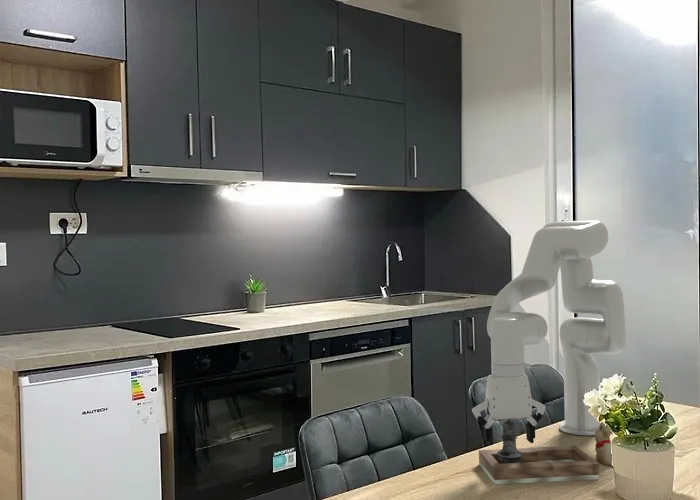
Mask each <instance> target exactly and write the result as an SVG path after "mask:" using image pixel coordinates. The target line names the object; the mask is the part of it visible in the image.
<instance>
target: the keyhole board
mask: <svg viewBox="0 0 700 500" xmlns="http://www.w3.org/2000/svg"><path fill="white" fill-rule="evenodd" d="M516 448H517V450H518V451H520V452H522V456H521V460H520V462H519V463H506V464H503V463H501V462H500V460H499V458H498V455H497V452H498V451H500V450H502V448H499V449H494V448H493V449H479V450H478V464H479V466H480V467H481V469H482V470H483V472H484V473H485V474H486V475H487V477H488V478H489V479H490V480H491V482H492V483H493V484H494V485H510V484H511V485H513V484H528V483H529V484H531V483H532V484H533V483H552V482H570V481H571V482H572V481H590V480H591V481H592V480H600V463H599V462H598V461H597V460H595V459H594V458H592V457H591V456H589V455H588V454H586V453H585V452H584V451H583V450H581V449H580V448H579V447H578V446H576V445H563V446H561V445H560V446H540V447H516Z"/></svg>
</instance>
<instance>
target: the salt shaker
mask: <svg viewBox="0 0 700 500" xmlns="http://www.w3.org/2000/svg"><path fill="white" fill-rule="evenodd" d="M501 438H502V448H501V449H502V450H500V451H498V452H497V455H498V458H499V460H500V462H501V463H503V464H506V463H519V462H520V460H521V456H522V452H520V451H518V450H517V448H518V447H517V443H516V442H517V440H516V439H518V436H517V435H516V425H515V423H514V422H513V421H512V420H511V419H509V420H505V421H504V422H503V424H502V436H501Z"/></svg>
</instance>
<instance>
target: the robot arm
mask: <svg viewBox="0 0 700 500" xmlns="http://www.w3.org/2000/svg"><path fill="white" fill-rule="evenodd" d="M608 240H609V231H608V228H607V227H606V225H605V224H604V223H603V222H602V221H599V220H563V221H562V220H561V221H553V222H549V223H546V224H545V225H544V226H543V227H542V228H540V229H539V230H537V231H536V232H535V234H534V235H533V237H532V241H531V244H530V247H529V249H528V253H527V256H526V258H525V262H524V265H523V268H522V271H521V273H520V274H519V275H518V276H516V277H515V278H514V279H512V280H511V281H509V282H508V283H507V284H506V285H505V286H504V287H503V288H502V289H501V290H500V291H499V292H498V293H497V294H496V296H495V297H494V299H493V303H492V305H491V308H490V310H489V314H488V317H487V320H486V321H487V322H486V329H487V330H486V332H487V335H488V336H489V338H490V352H491V353H490V355H491V356H490V357H491V360H490V361H491V363H490V364H491V374H489V375H488V376H487V379H486V381H487V382H486V386H485V387H486V389H485V390H486V391H485V400H484V401H483V402H481V403H479V404H478V405H476V406H474V407H473V408H471V411H472V413H473V415H474V417H475V418H476V420H477V421H478V422H479V423H480V424H481V425H482V426H483V436H484V437H483V438H484V439H483V440H484V441H485V442H486V443H487V444H488V445H489V446H493V445H494V439H493V438H494V436H493V433H494V432H493V428H492V426H493V424H494V423H495V421H502V420H503V421H504V420H505V421H508V420H509V419H510V420H523V419H526V421H527V422H526V424H525V433H526V435H525V436H526V440H527V441H528V442H529V443H531V444H534V441H535V440H534V439H536V426H537V425H538V422H540V421H541V419H542V418H543V415H544V413H545V412H546V409H547V406H546V405H545V404H543V403H541V402H539V401H537V400H534V399H533V398H532V393H531V387H530V382H529V381H530V380H529V378H528V375H527V373H526V371H529V370H531V364H530V363H526V362H525V346H533V345H537V344H540V343H542V342H543V340H545V338H546V337H547V334H548V330H549V329H548V324H547V321H546V320H545V318H544V316H542V315H540V314H537V313H534V312H522V311H512V309H514V307H515V306H517V305H518V304H520V303H521V302H524V301H525V300H528V299H531V298H533V297H536V296H538V295H541V294H543V293H546V292H548V291H549V290H551V289H552V288H553V287H554V286H555V283H556V280H557V277H558V273H559V270H560V277H561V293H562V294H561V295H562V303H563V306H564V309H565V310H566V311H567V312H570V313H573V314H578V315H579V314H580V315H581V314H582V315H595V316H601V317H602V318H593V317H581V316H580V317H577V316H576V317H569V318H566V319H565V320H564V321H563V322H562V323H561V324H560V327H559V339H560V344H561V349H562V357H563V387H564V388H563V389H564V390H563V392H564V393H563V394H564V396H563V397H564V401H563V402H564V421H561V422H560V423H558V427H559V430H560V431H562V432H564V433H565V434H571V435H574V436H575V435H576V436H595V431H597V430H598V429H599V426H600V424H601V423H599V422H598V421H597V418H594V417H593V416H592V415H591V414H590V413H589V412H588V408H587V407H586V406H585V405H584V403H583V398H584V394H585V393H587V392H589V391H590V390H592V389H598V388H599V385H601V384H600V367H599V364H598V362H597V360H596V358H595V357H594V356H593V354H603V355H618V354H620V353H622V352H623V351H624V349H625V346H626V338H627V337H626V336H627V335H626V334H627V332H626V317H625V316H626V315H625V302H624V294H623V291H622V288H621V286H620V285H619V283H618V282H616V281H614V280H606V279H595V276H594V271H593V270H594V269H593V261H592V258H591V257H593V256H597V255H598V254H600V253H601V252H603V251H604V250H605V249H606V247H607V244H608ZM533 407H535V408H537V410H536V412H535V413H534V414H533ZM484 410H485V414H487V415H486V416H485V418H484V417H483V416H482V414H481V413H482V411H484Z"/></svg>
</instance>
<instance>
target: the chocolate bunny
mask: <svg viewBox="0 0 700 500" xmlns="http://www.w3.org/2000/svg"><path fill="white" fill-rule="evenodd" d="M611 433H612V432H611V429H610V430H609V429H608V428H607V427H606V426H605V424H604V423H603V422H601V424H600V426H599V429H598V430H597V431H595V435H594V440H595V447H594V451H595V452H596V456H595V459H596V460H595V461H596V462H597V463H598V464H601V465H603V466H608V467H613V466H612V454H611V444H612V441H611V437H610V436H611Z"/></svg>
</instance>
